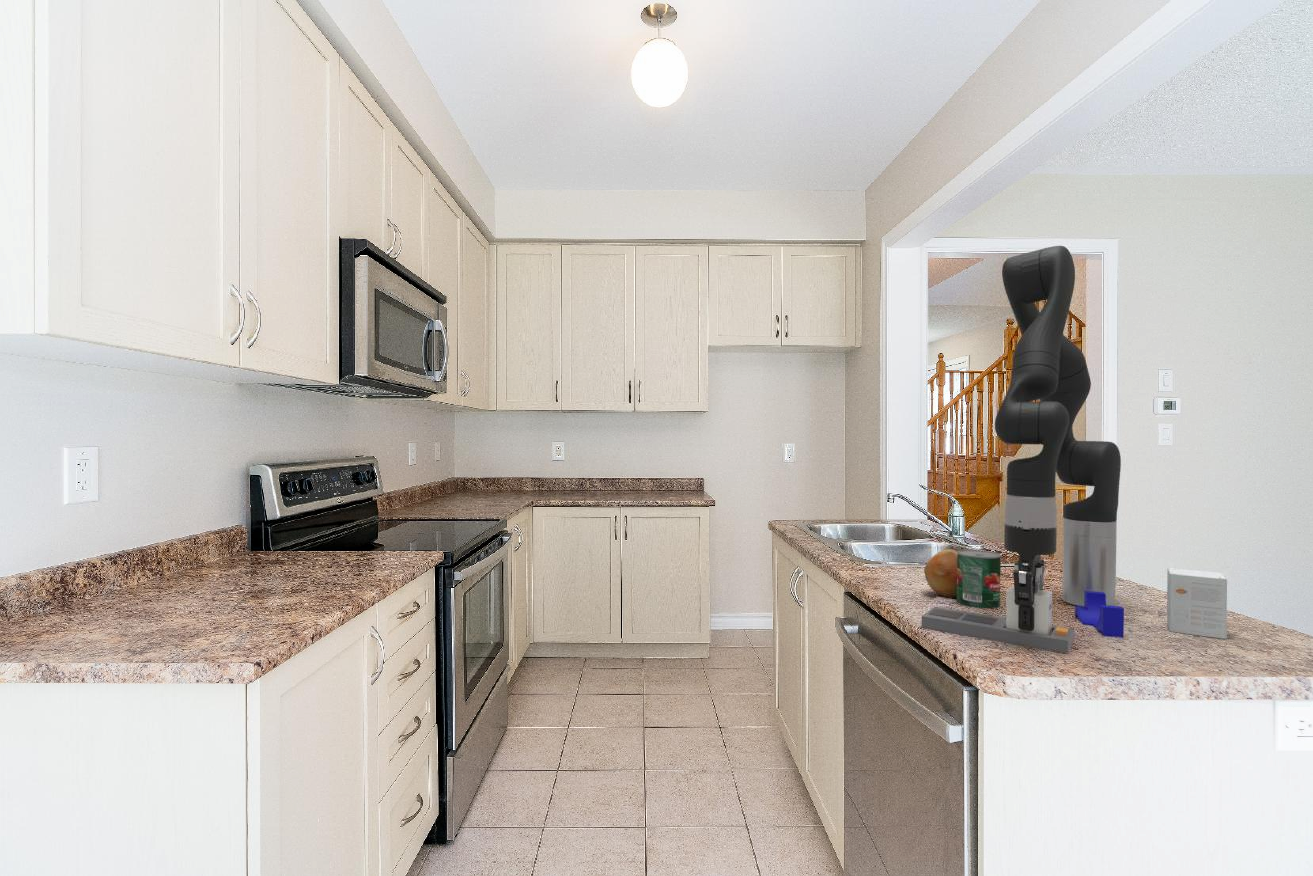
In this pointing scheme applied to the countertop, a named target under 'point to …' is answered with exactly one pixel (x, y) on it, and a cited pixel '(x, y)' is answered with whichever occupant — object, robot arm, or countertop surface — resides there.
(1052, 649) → the power strip
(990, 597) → the canned tomato
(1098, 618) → the cable clip
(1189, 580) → the small box
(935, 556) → the onion
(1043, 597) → the block
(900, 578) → the countertop surface
